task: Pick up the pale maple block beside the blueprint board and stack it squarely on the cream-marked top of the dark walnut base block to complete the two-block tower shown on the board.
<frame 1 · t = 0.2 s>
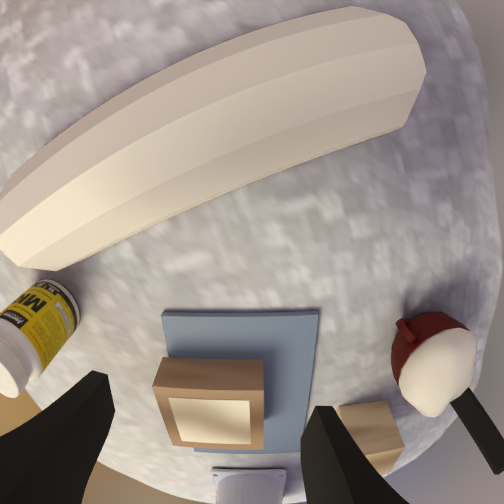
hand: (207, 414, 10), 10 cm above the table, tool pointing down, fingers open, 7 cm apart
crystal: (196, 132, 16), on the table
walnut base block: (216, 393, 22), resting on blueprint board
blueprint board: (243, 397, 22), on the table
maple block: (357, 418, 24), on the table
cocoa: (417, 336, 21), on the table
supplement bottle: (57, 304, 20), on the table
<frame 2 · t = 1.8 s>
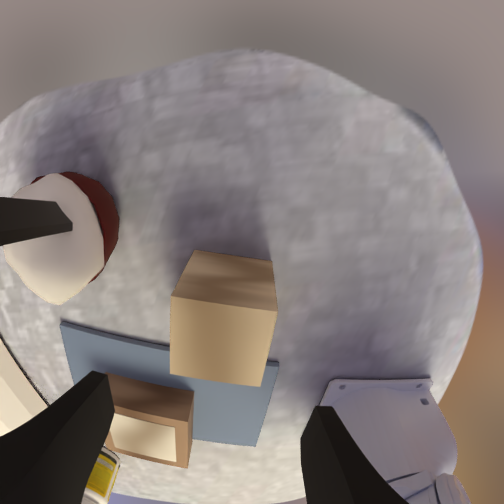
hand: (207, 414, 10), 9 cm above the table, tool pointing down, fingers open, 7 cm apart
walnut base block: (150, 411, 22), resting on blueprint board
blueprint board: (163, 393, 22), on the table
maple block: (228, 289, 18), on the table
cocoa: (92, 214, 17), on the table
supplement bottle: (102, 453, 26), on the table
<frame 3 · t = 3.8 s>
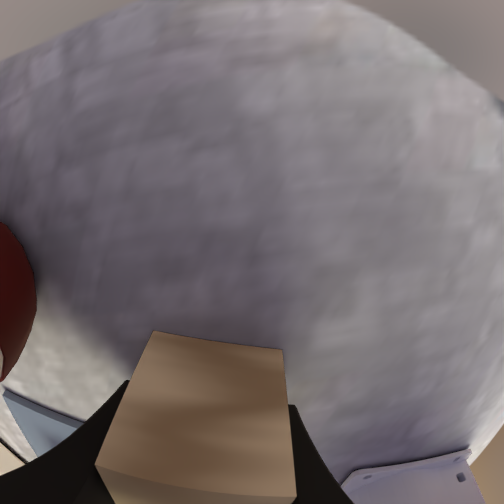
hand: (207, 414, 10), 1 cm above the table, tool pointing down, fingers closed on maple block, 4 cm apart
blueprint board: (137, 477, 14), on the table
maple block: (212, 386, 11), on the table, touching gripper
cocoa: (8, 265, 10), on the table
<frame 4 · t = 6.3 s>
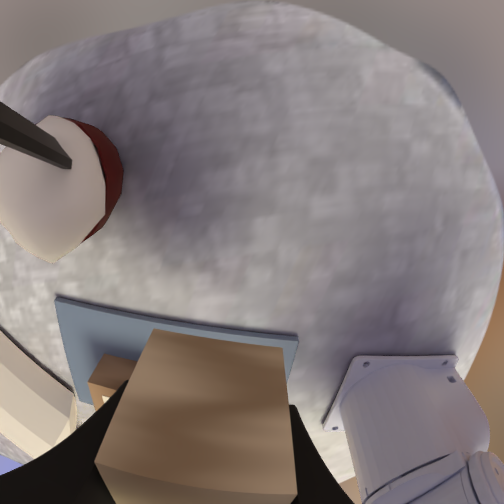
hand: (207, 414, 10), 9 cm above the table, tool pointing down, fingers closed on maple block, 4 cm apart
walnut base block: (154, 398, 20), resting on blueprint board
blueprint board: (168, 377, 20), on the table
maple block: (212, 384, 11), point 7 cm above the table, touching gripper
cocoa: (93, 172, 15), on the table
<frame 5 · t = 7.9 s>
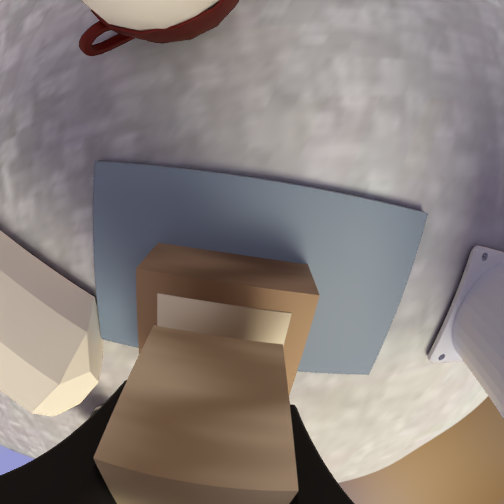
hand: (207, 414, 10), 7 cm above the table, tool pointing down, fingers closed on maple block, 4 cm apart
walnut base block: (223, 318, 15), resting on blueprint board
blueprint board: (249, 281, 15), on the table
maple block: (212, 381, 11), point 5 cm above the table, touching gripper
cocoa: (189, 0, 11), on the table
when the fingers open (6 cm above the table, at t = 9.3 s): maple block stays where it is, resting on walnut base block.
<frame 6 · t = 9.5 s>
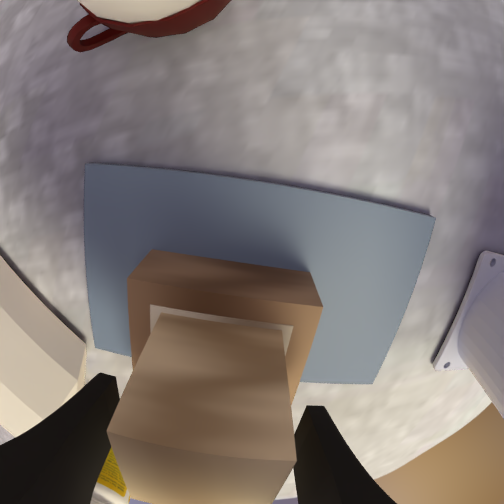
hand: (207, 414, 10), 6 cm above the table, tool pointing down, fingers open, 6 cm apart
walnut base block: (221, 328, 15), resting on blueprint board
blueprint board: (248, 289, 14), on the table
maple block: (215, 367, 12), point 4 cm above the table, touching walnut base block
supplement bottle: (118, 429, 19), on the table
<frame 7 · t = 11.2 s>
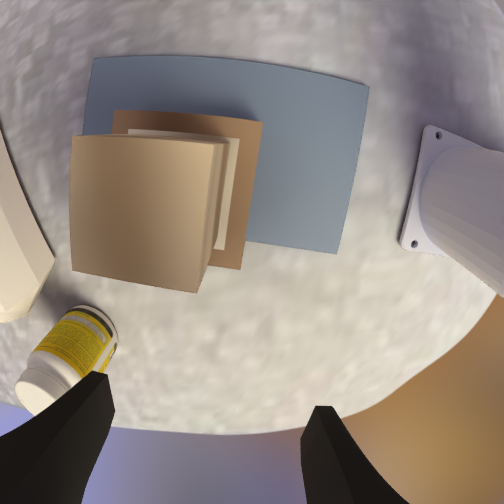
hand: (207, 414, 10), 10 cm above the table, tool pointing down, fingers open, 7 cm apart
walnut base block: (188, 180, 17), resting on blueprint board
blueprint board: (212, 146, 16), on the table
maple block: (175, 185, 14), point 4 cm above the table, touching walnut base block
supplement bottle: (93, 329, 21), on the table
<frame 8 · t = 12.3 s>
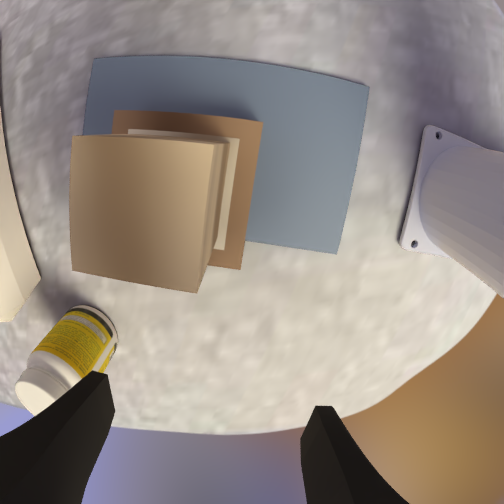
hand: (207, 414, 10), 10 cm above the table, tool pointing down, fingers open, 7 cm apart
walnut base block: (188, 180, 17), resting on blueprint board
blueprint board: (212, 146, 16), on the table
maple block: (175, 185, 14), point 4 cm above the table, touching walnut base block
supplement bottle: (93, 329, 21), on the table
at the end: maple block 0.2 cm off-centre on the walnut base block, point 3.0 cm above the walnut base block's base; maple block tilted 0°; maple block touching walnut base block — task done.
